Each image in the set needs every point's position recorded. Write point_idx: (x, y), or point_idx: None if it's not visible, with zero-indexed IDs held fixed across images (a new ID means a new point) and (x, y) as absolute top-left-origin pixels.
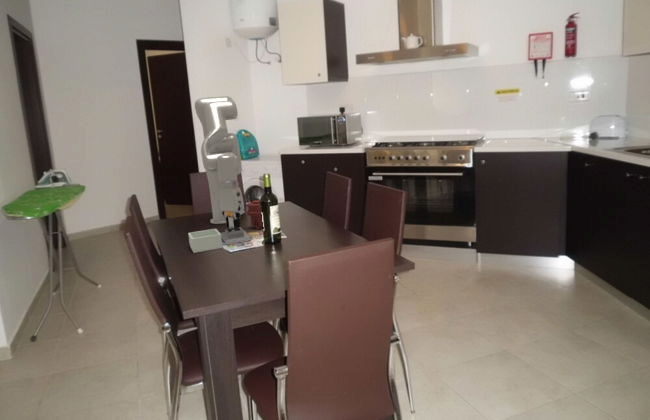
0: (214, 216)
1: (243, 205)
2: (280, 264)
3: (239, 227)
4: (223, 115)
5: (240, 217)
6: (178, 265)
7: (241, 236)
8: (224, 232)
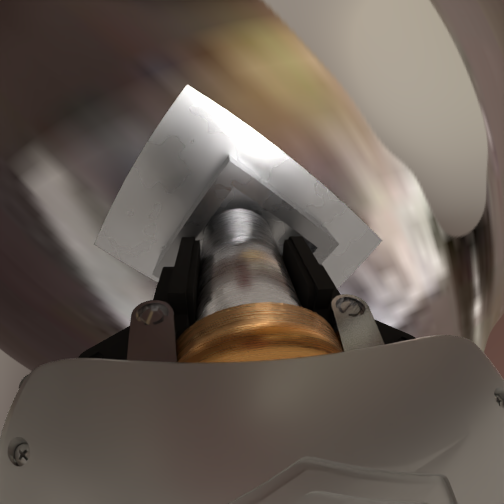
0: None
1: (499, 390)
2: (484, 348)
3: (238, 179)
4: None
5: (358, 298)
6: None
7: (333, 267)
8: (118, 227)
